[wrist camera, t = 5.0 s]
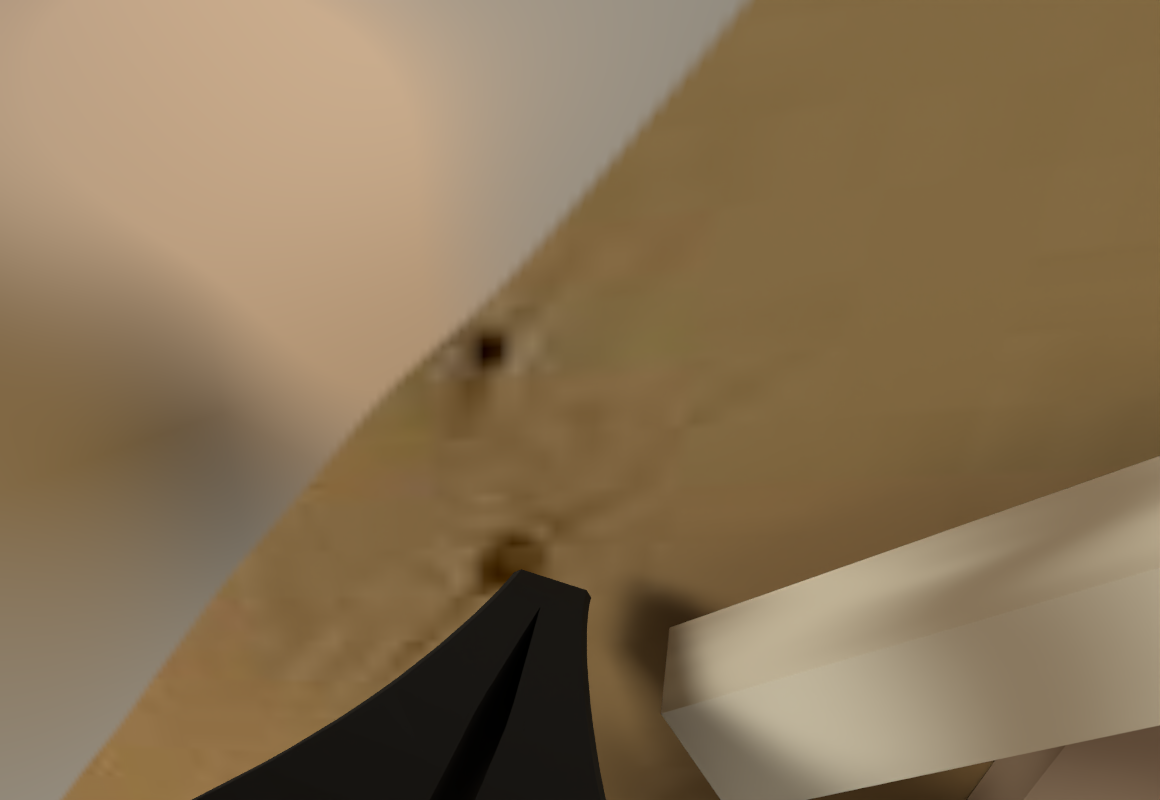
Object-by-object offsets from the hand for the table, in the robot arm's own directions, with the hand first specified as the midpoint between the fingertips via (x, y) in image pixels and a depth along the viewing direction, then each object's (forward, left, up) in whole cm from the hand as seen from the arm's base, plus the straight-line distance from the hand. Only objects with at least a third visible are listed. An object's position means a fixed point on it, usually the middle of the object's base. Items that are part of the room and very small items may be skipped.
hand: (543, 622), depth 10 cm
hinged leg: (+3, -8, -1) cm, 8 cm away
